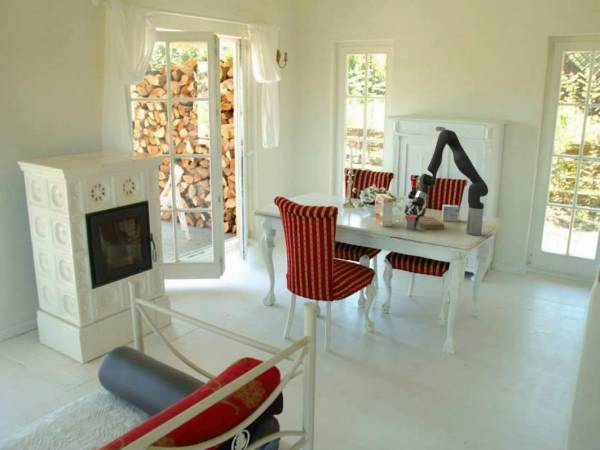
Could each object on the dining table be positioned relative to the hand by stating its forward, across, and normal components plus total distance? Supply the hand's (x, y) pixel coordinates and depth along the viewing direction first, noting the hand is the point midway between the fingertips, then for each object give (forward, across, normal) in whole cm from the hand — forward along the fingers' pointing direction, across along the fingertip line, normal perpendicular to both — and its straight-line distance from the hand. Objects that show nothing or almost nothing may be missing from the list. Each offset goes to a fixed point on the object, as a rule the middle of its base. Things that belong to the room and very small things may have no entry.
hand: (411, 219), depth 373 cm
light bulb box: (-24, +11, +34) cm, 43 cm away
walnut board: (-9, +4, +18) cm, 20 cm away
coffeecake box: (+3, -21, +6) cm, 22 cm away
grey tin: (+3, 0, +6) cm, 7 cm away
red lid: (-1, 0, +2) cm, 2 cm away
